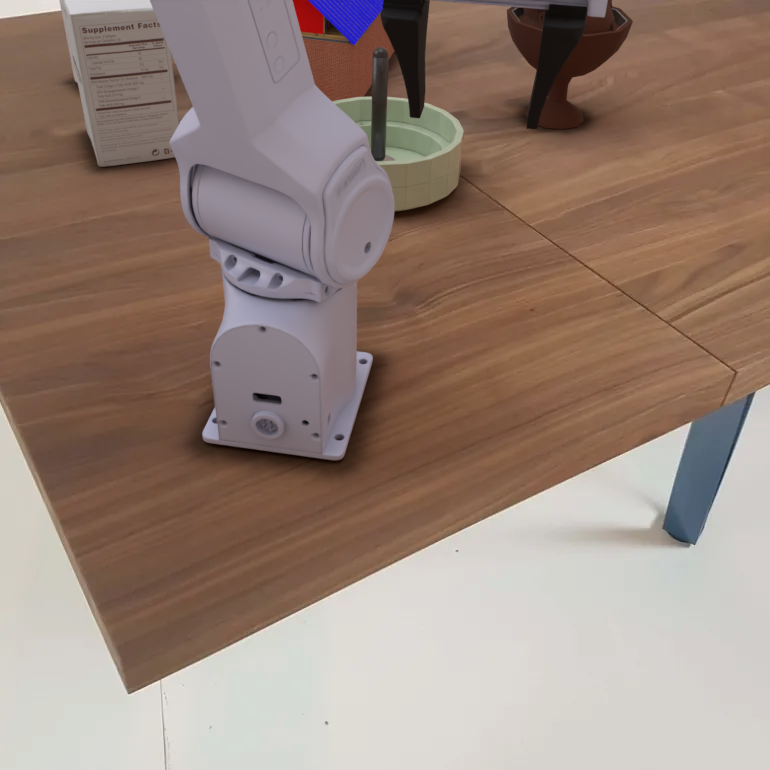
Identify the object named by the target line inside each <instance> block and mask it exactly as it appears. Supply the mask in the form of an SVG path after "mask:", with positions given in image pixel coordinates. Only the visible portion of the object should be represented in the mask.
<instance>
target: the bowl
mask: <svg viewBox="0 0 770 770" xmlns="http://www.w3.org/2000/svg"><path fill="white" fill-rule="evenodd" d="M333 103H334V104H335V105H337V106H338V107H339V108H340V109H341V110H342V111H343V112H344V113H345V114H347V115H348V116H349V117H350V118H351V119H352V120H353V121H354V122H355V123H356V124H357V125H358V126H359V127H360V128H361V129H362V130H363V131H364V132H365V133H366V134H367V137H368V142H369V146H370V150H371V113H372V96H364V97H355V98H348V99H342V100H336V101H333ZM464 134H465V130H464V128H463V126H462V124H461V122H460V120H459V119H458V118H456V117H455V116H454V115H453V114H451V113H450V112H448V111H447V110H446V109H443V108H441V107H438V106H436V105H434V104H431V103H428V102H424V108H423V111H422V114H421V117H420V118H411V117H410V113H409V103H408V97H407V98H406V97H397V96H396V97H395V96H387V124H386V155H388V156H390V157H392V158H394V159H395V160H396V161H376V163H377V164H378V165H379V166H381V167H382V168H383V169H384V170H385V172H386V173H387V175H388V177H389V180H390V182H391V186H392V192H393V196H394V213H395V212H403V211H409V210H414V209H417V208H421V207H425V206H428V205H431V204H433V203H435V202H438V201H440V200H442V199H445V198H446V197H448V196H449V195H450V194H451V193H452V192H453V191H454V190H455V189H456V188H457V187H458V185H459V182H460V176H461V170H462V158H463V148H464V147H463V146H464Z"/></svg>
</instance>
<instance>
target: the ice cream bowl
mask: <svg viewBox="0 0 770 770" xmlns="http://www.w3.org/2000/svg"><path fill="white" fill-rule="evenodd" d="M544 14H545V9H533V8H520V7H509V8H507V9H506V19H507V28H508V32H509V34H510V37H511V39H512V42H513V44H514V45H515V47H516V48H517V50H518V52H519V53H520V54H521V56H522V57H523V58H524V60H525V61H526V62H527V63H528V64H529V66H531V67H532V68H533V69H535V70H536V71H537V66H538V60H539V52H540V44H541V37H542V29H543V21H544ZM633 22H634V20H633V19H632V18H631V17H630V16H629V15H628V14H627V13H626V12H625V11H624V10H623V9H621V8H620V7H616V6H613V0H608V1H607V7H606V13H605V17H604V18H602V17H590V16H587V14H586V19H585V30H584V33H583V35H582V37H581V39H580V41H579V43H578V44H577V46H576V47H575V49H574V50H573V51H572V53H571V54H570V56H569V57H568V59H567V61H566V62H565V64H564V65H563V67H562V69H561V71H560V72H559V74H558V76H557V78H556V80H555V82H554V84H553V86H552V88H551V90H550V92H549V94H548V97H547V99H546V101H545V104H544V107H543V109H542V112H541V115H540V119H539V123H538V127H541V128H544V129H545V128H547V129H553V130H567V129H572V128H578V127H579V126H580V125H581V124H582V123H583V122H584V121H585V120H584V114H583V113H582V111H581V110H580V107H577V106H576V105H575V104H573V103H572V102H571V101H569V100H567V99H568V93H569V92H568V91H569V84H570V83H571V81H572V79H573V78H577V77H583V76H586V75H588V74H590V73H592V72H594V71H596V70H597V69H598V68H600V67H601V66H602V65H604V64H605V62H607V61H608V60H609V59H610V58H612V57H613V56H614V55H615V54H616V53H617V52H618V51H619V50H620V48H621V47H622V45H623V44H624V42H625V41H626V40H627V38H628V35H629V32H630V30H631V27H632V26H633ZM528 112H529V107H528V108H527V109H526V111H525V113H524V115H525V117H526V119H527V120H528Z"/></svg>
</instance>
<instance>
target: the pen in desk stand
mask: <svg viewBox="0 0 770 770" xmlns="http://www.w3.org/2000/svg"><path fill="white" fill-rule="evenodd" d="M388 83H389V60H388V51H387V50H386V49H385V48H383V47H378V48H376V49H375V50H374V51H373V58H372V85H371V97H372V113H371V154H372V156H373V158H374V160H375V161H396V160H395V159H394V158H392V157H390V156H388V155H386V124H387V97H388V87H389V86H388V85H389V84H388Z"/></svg>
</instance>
